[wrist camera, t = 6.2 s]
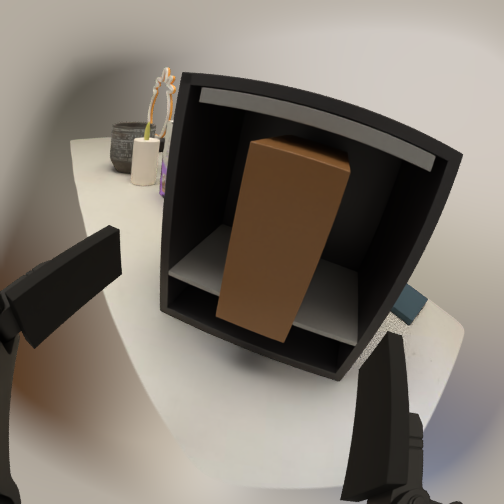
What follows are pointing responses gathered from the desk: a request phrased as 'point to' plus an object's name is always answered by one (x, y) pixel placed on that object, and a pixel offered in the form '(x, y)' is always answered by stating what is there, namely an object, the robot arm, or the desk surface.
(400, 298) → the silicone mat
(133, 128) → the planter
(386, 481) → the robot arm
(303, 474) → the desk surface
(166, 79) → the lamp
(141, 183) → the candle
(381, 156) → the mini cabinet
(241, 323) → the brown packet
